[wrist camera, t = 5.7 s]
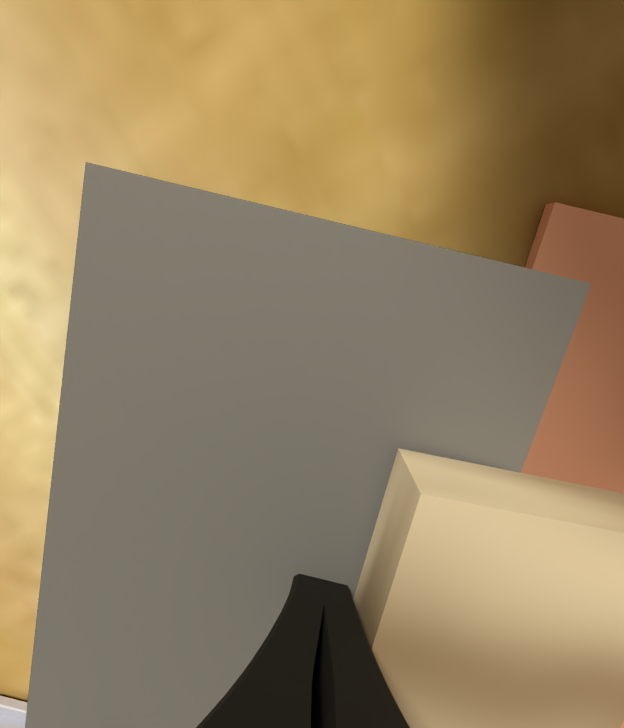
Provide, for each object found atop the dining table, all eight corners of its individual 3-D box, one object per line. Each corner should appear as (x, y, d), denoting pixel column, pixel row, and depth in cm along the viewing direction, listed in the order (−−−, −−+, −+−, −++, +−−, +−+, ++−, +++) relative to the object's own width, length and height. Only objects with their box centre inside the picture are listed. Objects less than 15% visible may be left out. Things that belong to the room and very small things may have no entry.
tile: (515, 773, 14) (552, 863, 12) (309, 745, 13) (312, 834, 11) (638, 496, 11) (709, 549, 9) (398, 448, 11) (420, 493, 9)
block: (365, 739, 18) (371, 871, 14) (87, 669, 18) (18, 782, 14) (522, 274, 14) (591, 283, 10) (157, 186, 14) (85, 162, 10)
